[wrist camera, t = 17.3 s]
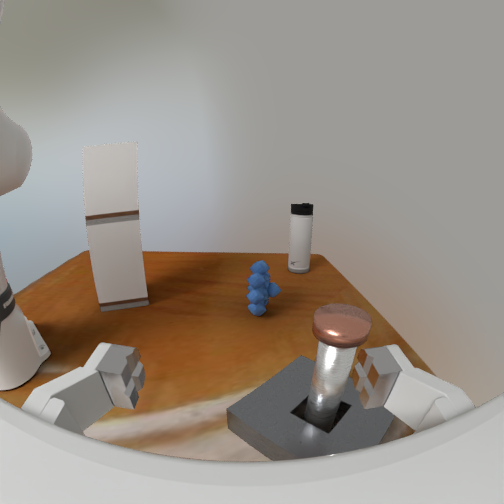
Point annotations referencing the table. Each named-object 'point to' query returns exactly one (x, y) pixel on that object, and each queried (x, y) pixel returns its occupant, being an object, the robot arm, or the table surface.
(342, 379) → the steel pin
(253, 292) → the grapes
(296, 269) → the travel mug
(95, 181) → the striped white pillar
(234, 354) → the table surface
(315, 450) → the block
